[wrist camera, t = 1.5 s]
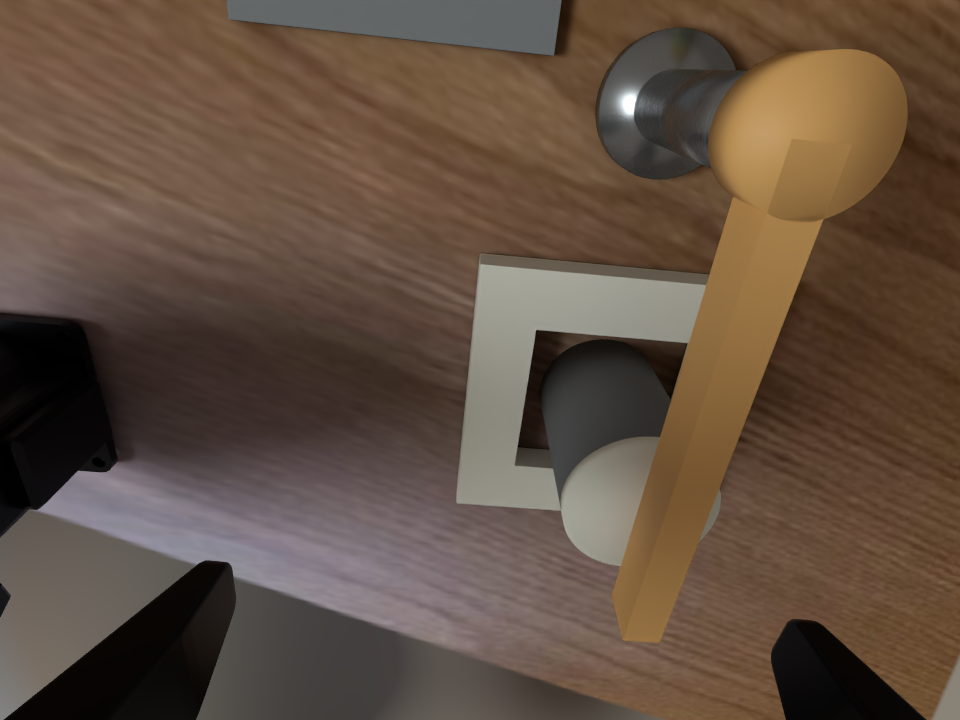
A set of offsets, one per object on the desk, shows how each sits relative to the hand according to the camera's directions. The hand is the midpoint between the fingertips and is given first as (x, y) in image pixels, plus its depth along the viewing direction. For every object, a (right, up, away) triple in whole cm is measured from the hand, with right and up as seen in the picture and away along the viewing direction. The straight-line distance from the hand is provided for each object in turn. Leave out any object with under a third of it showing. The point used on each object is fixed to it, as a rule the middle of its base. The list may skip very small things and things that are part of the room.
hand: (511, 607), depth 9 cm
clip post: (+5, +12, +8) cm, 15 cm away
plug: (+4, +3, +12) cm, 13 cm away
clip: (+4, +3, +4) cm, 7 cm away
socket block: (+4, +3, +12) cm, 13 cm away
